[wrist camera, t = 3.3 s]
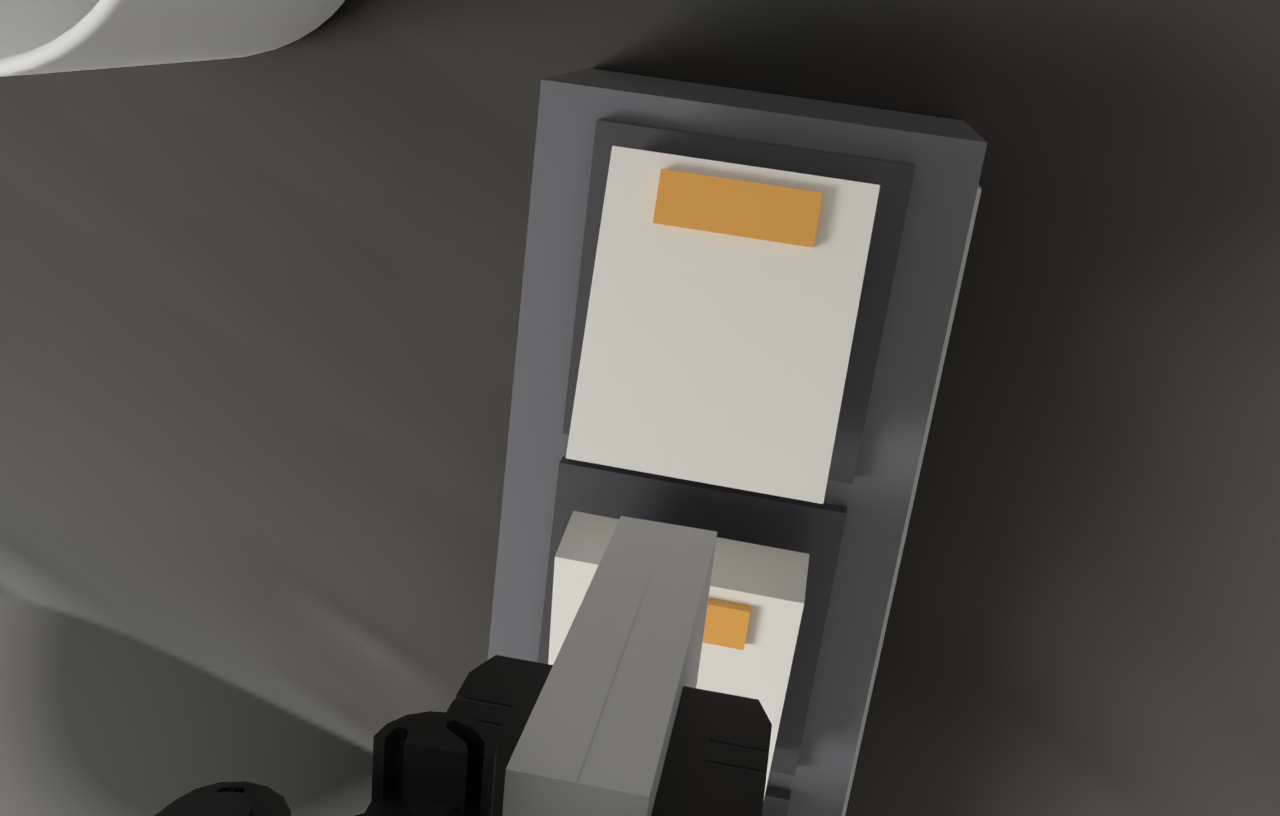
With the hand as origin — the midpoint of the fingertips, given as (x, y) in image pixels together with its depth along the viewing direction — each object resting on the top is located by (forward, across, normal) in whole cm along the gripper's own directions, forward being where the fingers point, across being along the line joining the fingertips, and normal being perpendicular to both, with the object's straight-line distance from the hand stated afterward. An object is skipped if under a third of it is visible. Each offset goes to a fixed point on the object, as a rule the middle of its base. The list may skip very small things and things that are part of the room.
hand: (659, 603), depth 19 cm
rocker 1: (+7, 0, +3) cm, 7 cm away
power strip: (+13, 0, -8) cm, 15 cm away
